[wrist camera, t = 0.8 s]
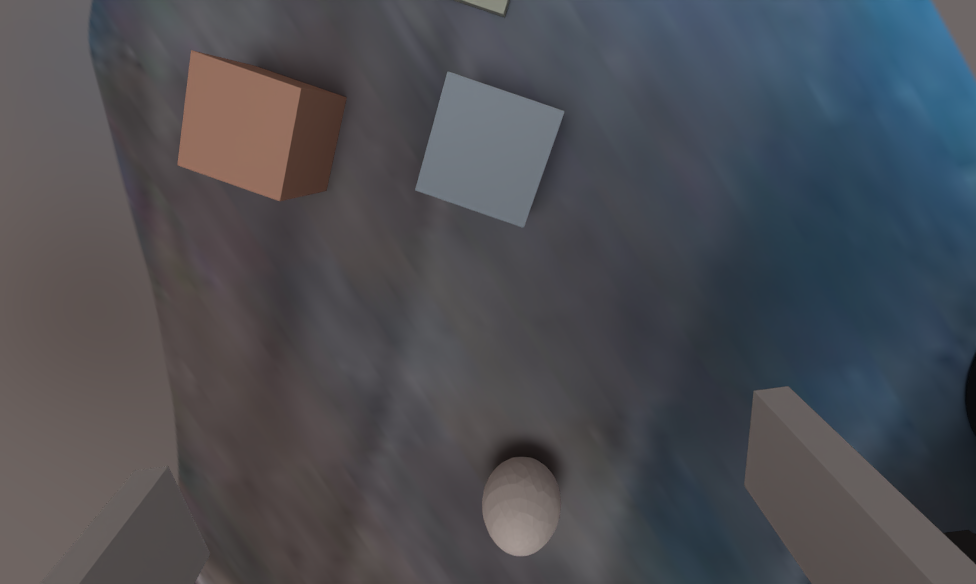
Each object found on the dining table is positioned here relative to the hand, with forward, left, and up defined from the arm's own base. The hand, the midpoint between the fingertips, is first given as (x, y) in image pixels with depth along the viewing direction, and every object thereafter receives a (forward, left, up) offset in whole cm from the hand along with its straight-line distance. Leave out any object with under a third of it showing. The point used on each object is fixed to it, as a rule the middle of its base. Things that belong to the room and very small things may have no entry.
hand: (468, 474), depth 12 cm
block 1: (+17, -3, -22) cm, 28 cm away
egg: (-5, +15, -22) cm, 28 cm away
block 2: (+4, -6, -22) cm, 24 cm away
